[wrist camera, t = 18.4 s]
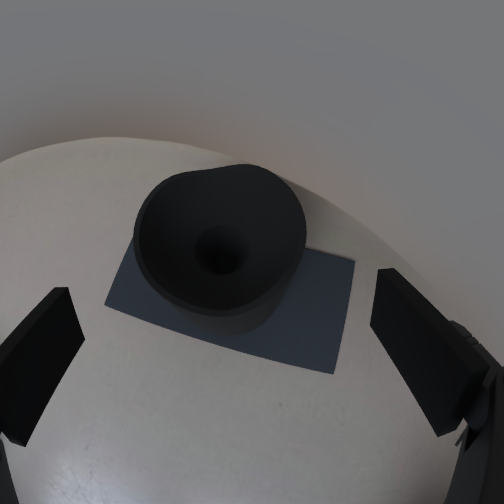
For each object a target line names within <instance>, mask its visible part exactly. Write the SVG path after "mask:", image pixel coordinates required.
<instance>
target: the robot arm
mask: <svg viewBox="0 0 504 504" xmlns="http://www.w3.org/2000/svg"><path fill="white" fill-rule="evenodd" d="M370 326H371V328H372V329H373V331H374V333H375V334H376V336H377V337H378V339H379V340H380V342H381V343H382V345H383V347H384V348H385V350H386V351H387V353H388V355H389V356H390V358H391V359H392V361H393V363H394V364H395V366H396V367H397V369H398V371H399V372H400V374H401V375H402V377H403V379H404V380H405V382H406V384H407V385H408V387H409V389H410V390H411V392H412V394H413V395H414V397H415V399H416V400H417V402H418V404H419V406H420V407H421V409H422V411H423V412H424V414H425V416H426V418H427V419H428V421H429V423H430V425H431V426H432V428H433V430H434V432H435V433H436V435H437V437H440V436H442V435H445V434H447V433H450V432H452V431H454V430H456V429H457V427H458V426H459V424H460V423H461V421H462V419H463V418H464V419H465V421H466V422H467V424H468V425H467V427H466V428H465V430H464V431H463V433H462V434H461V436H460V437H459V439H458V440H457V442H456V444H455V446H458V445H459V443H460V442H461V441H462V443H461V448H460V452H459V456H458V460H457V464H456V467H455V471H454V474H453V478H452V481H451V484H450V487H449V490H448V493H447V496H446V499H445V502H444V504H504V366H503V367H502V366H501V365H500V364H499V363H498V362H497V361H496V360H495V359H494V358H493V356H491V354H490V353H489V352H488V351H487V350H486V349H485V348H484V347H483V346H482V345H481V344H479V342H478V341H477V340H476V339H475V337H472V334H471V333H470V332H469V331H468V330H467V329H466V328H465V327H463V326H462V325H460V324H458V323H456V322H455V321H453V320H452V321H448V320H447V319H446V318H445V317H444V316H443V315H442V314H441V313H440V312H439V311H438V310H437V309H436V308H435V307H434V306H433V305H432V304H431V303H430V302H429V301H428V300H427V299H426V298H425V297H424V296H423V295H422V294H421V293H420V292H419V291H418V290H417V289H416V288H415V287H414V286H412V285H411V284H410V283H409V282H408V281H407V280H406V279H405V278H404V277H403V276H402V275H401V274H400V273H399V272H398V271H396V270H395V269H394V268H389V269H378V274H377V282H376V289H375V296H374V303H373V309H372V315H371V321H370ZM84 340H85V338H84V335H83V332H82V329H81V327H80V324H79V321H78V318H77V315H76V312H75V309H74V306H73V302H72V299H71V296H70V293H69V289H68V287H55V288H54V289H53V290H52V291H51V292H50V293H49V294H48V295H47V296H46V297H45V298H44V299H43V300H42V301H41V302H40V303H39V304H38V305H37V306H36V307H35V308H34V309H33V310H32V311H31V312H30V313H29V314H28V315H27V316H26V317H25V319H24V320H23V321H22V322H21V323H20V324H19V325H18V326H17V327H16V328H15V329H14V331H13V332H12V333H11V334H10V335H9V336H8V337H7V338H6V340H5V341H4V342H3V343H2V344H1V345H0V434H1V432H3V433H4V434H5V436H6V437H7V438H8V439H9V441H10V442H12V443H15V444H17V445H20V446H23V447H26V445H27V443H28V441H29V439H30V437H31V435H32V433H33V431H34V429H35V427H36V425H37V423H38V421H39V419H40V417H41V415H42V413H43V411H44V409H45V408H46V406H47V404H48V402H49V400H50V398H51V397H52V395H53V393H54V391H55V389H56V388H57V386H58V384H59V382H60V381H61V379H62V377H63V375H64V374H65V372H66V370H67V368H68V367H69V365H70V363H71V362H72V360H73V358H74V357H75V355H76V353H77V352H78V350H79V349H80V347H81V345H82V344H83V342H84ZM0 504H19V501H18V498H17V495H16V492H15V488H14V485H13V482H12V478H11V474H10V470H9V466H8V462H7V458H6V453H5V449H4V444H3V442H2V440H1V439H0Z"/></svg>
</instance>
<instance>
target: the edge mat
mask: <svg viewBox="0 0 504 504" xmlns="http://www.w3.org/2000/svg"><path fill="white" fill-rule="evenodd" d="M354 265H355V261H351V260H348V259H344V258H340V257H336V256H333V255H329V254H325V253H321V252H318V251H314V250H310V249H306V248H304V252H303V256H302V258H301V261H300V263H299V265H298V267H297V270H296V272H295V274H294V276H293V278H292V280H291V282H290V284H289V286H288V288H287V290H286V292H285V294H284V296H283V298H282V300H281V301H280V303H279V305H278V306H277V308H276V310H275V311H274V313H273V314H272V315H271V316H270V318H269V319H268V320H267V321H266V322H265V323H264V324H262V325H261V326H259V327H258V328H256V329H254V330H253V331H251V332H248V333H245V334H241V335H237V336H220V335H215V334H212V333H209V332H206V331H204V330H202V329H200V328H199V327H197V326H196V325H194V324H193V323H192V322H190V321H189V320H188V319H186V318H185V317H184V316H183V315H182V314H181V313H180V312H178V311H177V310H176V309H175V308H174V307H173V306H172V305H171V304H169V303H168V302H167V301H166V300H165V299H164V298H163V297H162V296H161V295H160V294H158V293H157V292H156V291H155V290H154V289H153V288H152V287H151V286H150V284H149V283H148V282H147V281H146V279H145V278H144V276H143V274H142V273H141V271H140V269H139V266H138V264H137V261H136V258H135V253H134V247H133V238H132V240H131V242H130V244H129V247H128V249H127V251H126V253H125V256H124V258H123V260H122V262H121V265H120V267H119V269H118V272H117V274H116V277H115V279H114V281H113V284H112V286H111V289H110V291H109V294H108V296H107V299H106V301H105V304H104V305H106V306H108V307H111V308H113V309H116V310H118V311H121V312H123V313H126V314H128V315H131V316H134V317H136V318H139V319H142V320H144V321H147V322H150V323H153V324H155V325H158V326H161V327H164V328H167V329H170V330H173V331H176V332H179V333H182V334H185V335H188V336H191V337H194V338H197V339H200V340H203V341H206V342H209V343H213V344H216V345H219V346H223V347H226V348H229V349H233V350H236V351H240V352H243V353H247V354H251V355H254V356H258V357H262V358H265V359H269V360H273V361H277V362H281V363H285V364H289V365H293V366H298V367H302V368H306V369H311V370H315V371H320V372H324V373H329V374H334V370H335V365H336V361H337V357H338V352H339V347H340V343H341V338H342V333H343V328H344V323H345V318H346V313H347V307H348V302H349V296H350V290H351V284H352V278H353V272H354Z"/></svg>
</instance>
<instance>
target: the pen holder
mask: <svg viewBox="0 0 504 504" xmlns="http://www.w3.org/2000/svg"><path fill="white" fill-rule="evenodd" d="M306 234H307V233H306V221H305V216H304V212H303V210H302V207H301V204H300V203H299V201H298V199H297V197H296V195H295V194H294V193H293V191H292V190H291V188H290V187H289V186H288V185H287V184H286V183H285V182H284V181H283V180H282V179H280V178H279V177H278V176H277V175H275V174H274V173H272V172H270V171H269V170H267V169H264V168H262V167H259V166H255V165H250V164H238V165H230V166H225V167H219V168H214V169H206V170H198V171H190V172H184V173H180V174H176V175H173V176H171V177H169V178H167V179H165V180H164V181H162V182H161V183H160V184H159V185H157V186H156V187H155V188H154V189H153V190H152V191H151V193H150V194H149V195H148V197H147V198H146V199H145V201H144V203H143V204H142V206H141V208H140V210H139V213H138V216H137V218H136V222H135V226H134V233H133V247H134V253H135V258H136V261H137V264H138V266H139V269H140V271H141V273H142V274H143V276H144V278H145V279H146V281H147V282H148V283H149V284H150V286H151V287H152V288H153V289H154V290H155V291H156V292H157V293H158V294H160V295H161V296H162V297H163V298H164V299H165V300H166V301H167V302H168V303H169V304H171V305H172V306H173V307H174V308H175V309H176V310H177V311H178V312H180V313H181V314H182V315H183V316H184V317H185V318H186V319H188V320H189V321H190V322H192V323H193V324H194V325H196V326H197V327H199V328H200V329H202V330H204V331H206V332H209V333H212V334H215V335H220V336H237V335H241V334H245V333H248V332H251V331H253V330H254V329H256V328H258V327H259V326H261V325H262V324H264V323H265V322H266V321H267V320H268V319H269V318H270V316H271V315H272V314H273V313H274V311H275V310H276V308H277V306H278V305H279V303H280V301H281V300H282V298H283V296H284V294H285V292H286V290H287V288H288V286H289V284H290V282H291V280H292V278H293V276H294V274H295V272H296V270H297V267H298V265H299V263H300V261H301V258H302V256H303V252H304V248H305V244H306Z"/></svg>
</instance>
